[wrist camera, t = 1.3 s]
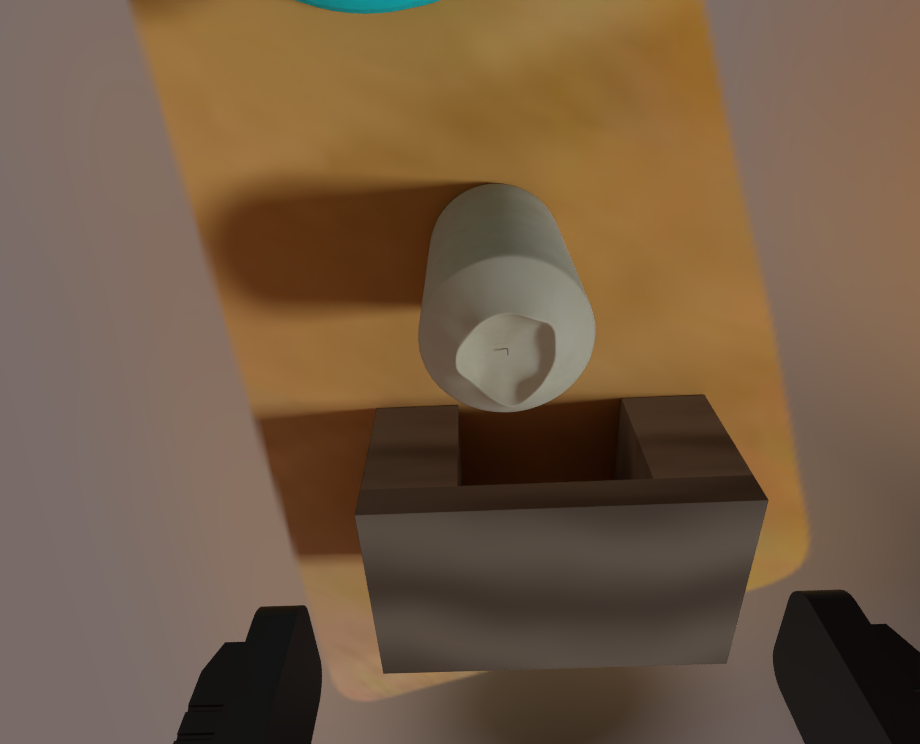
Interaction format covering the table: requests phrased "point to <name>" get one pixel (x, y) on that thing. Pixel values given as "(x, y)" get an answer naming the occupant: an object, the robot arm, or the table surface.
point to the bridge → (558, 548)
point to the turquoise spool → (366, 5)
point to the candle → (502, 303)
